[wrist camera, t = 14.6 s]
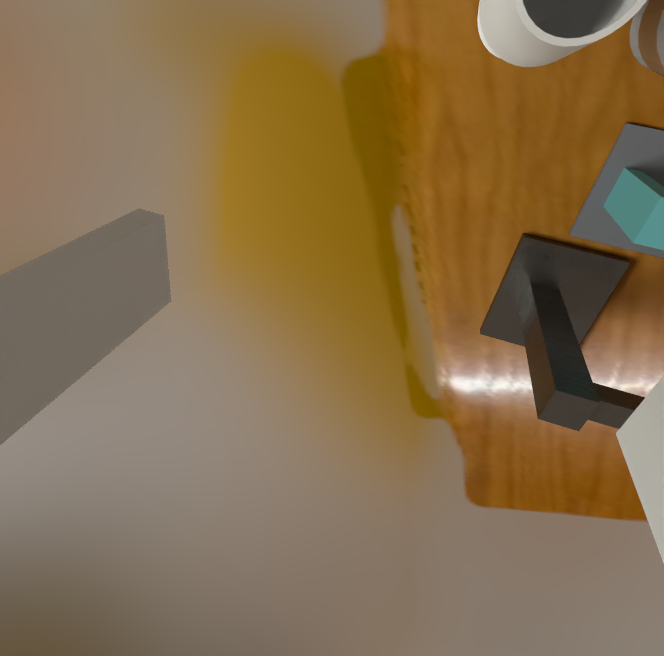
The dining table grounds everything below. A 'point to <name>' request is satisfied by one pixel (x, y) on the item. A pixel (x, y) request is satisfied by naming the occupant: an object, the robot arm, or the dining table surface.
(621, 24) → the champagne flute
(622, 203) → the u-shaped block
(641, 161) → the mat
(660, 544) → the robot arm
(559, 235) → the dining table surface
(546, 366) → the stand
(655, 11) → the coffee cup
